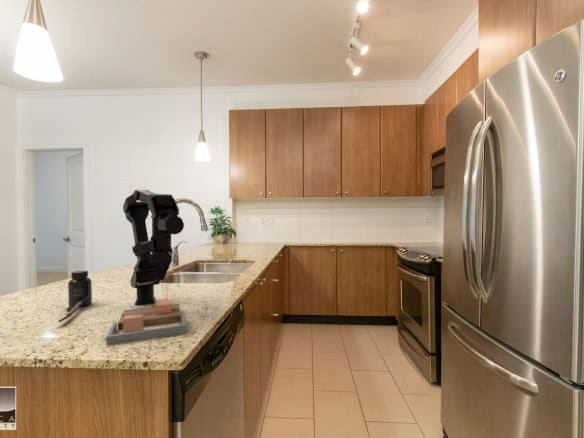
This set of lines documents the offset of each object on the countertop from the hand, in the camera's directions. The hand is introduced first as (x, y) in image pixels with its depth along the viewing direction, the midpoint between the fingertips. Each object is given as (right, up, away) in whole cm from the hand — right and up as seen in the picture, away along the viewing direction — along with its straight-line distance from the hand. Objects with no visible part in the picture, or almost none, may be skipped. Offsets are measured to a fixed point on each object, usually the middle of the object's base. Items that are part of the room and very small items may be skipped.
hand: (162, 279), depth 96 cm
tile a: (0, -8, -17) cm, 19 cm away
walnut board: (0, -11, -8) cm, 13 cm away
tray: (+5, -11, -18) cm, 21 cm away
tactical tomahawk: (-27, -13, -6) cm, 31 cm away
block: (+3, -8, -6) cm, 11 cm away
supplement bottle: (-33, -11, +8) cm, 36 cm away
